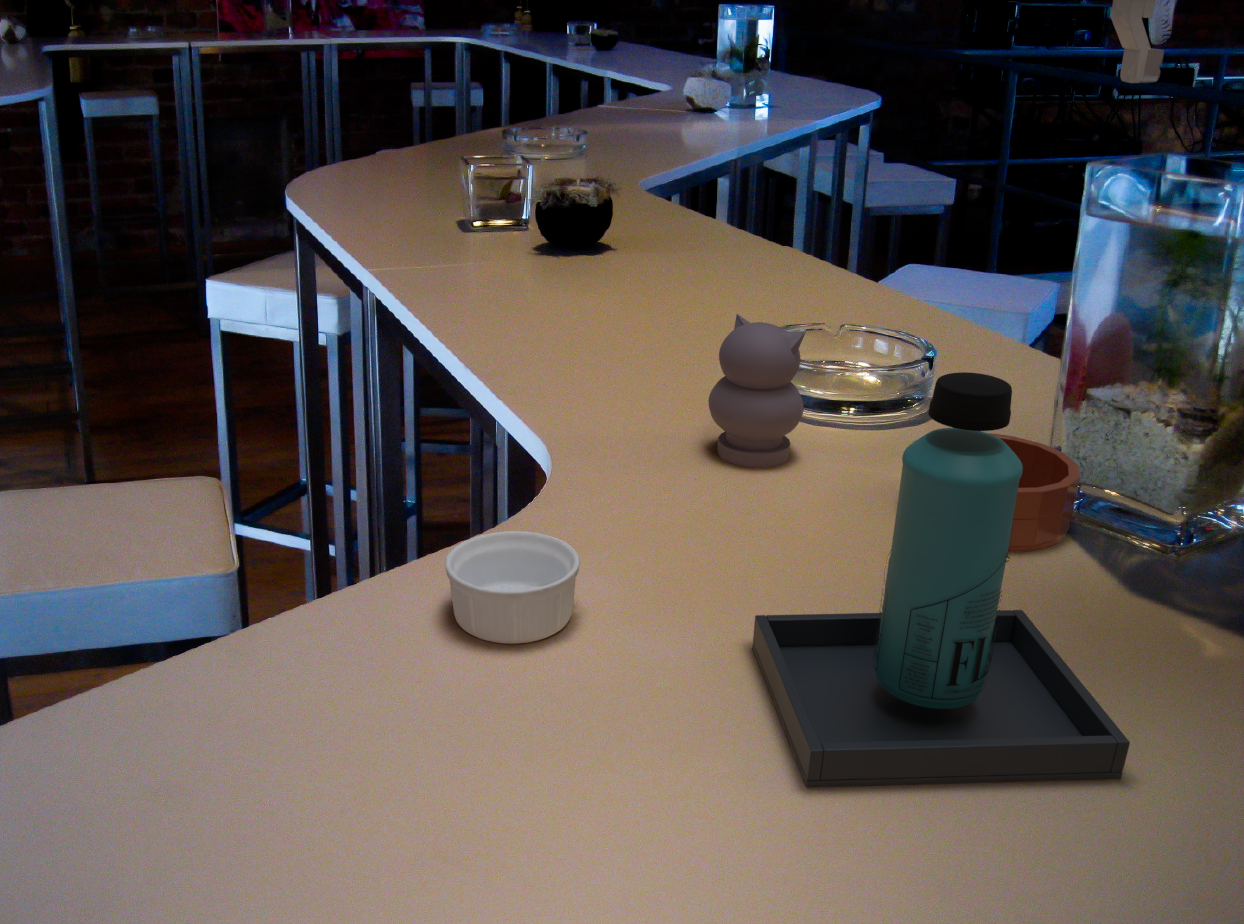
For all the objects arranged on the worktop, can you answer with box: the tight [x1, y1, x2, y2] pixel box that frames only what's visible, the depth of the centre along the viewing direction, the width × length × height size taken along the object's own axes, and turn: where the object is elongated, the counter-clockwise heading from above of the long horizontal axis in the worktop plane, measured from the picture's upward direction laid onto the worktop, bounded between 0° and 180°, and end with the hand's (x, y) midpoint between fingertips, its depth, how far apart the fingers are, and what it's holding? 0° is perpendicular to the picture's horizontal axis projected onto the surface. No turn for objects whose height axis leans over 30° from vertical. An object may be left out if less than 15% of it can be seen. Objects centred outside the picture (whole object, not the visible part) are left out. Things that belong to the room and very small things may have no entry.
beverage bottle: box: [873, 371, 1023, 709], centre depth 68 cm, size 6×7×20 cm
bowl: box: [988, 432, 1081, 553], centre depth 95 cm, size 12×12×5 cm
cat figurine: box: [708, 313, 807, 468], centre depth 106 cm, size 8×8×12 cm
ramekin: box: [444, 530, 581, 645], centre depth 81 cm, size 9×9×4 cm
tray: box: [751, 609, 1131, 789], centre depth 72 cm, size 17×14×2 cm
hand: (1217, 80), depth 70 cm, fingers open, 8 cm apart
